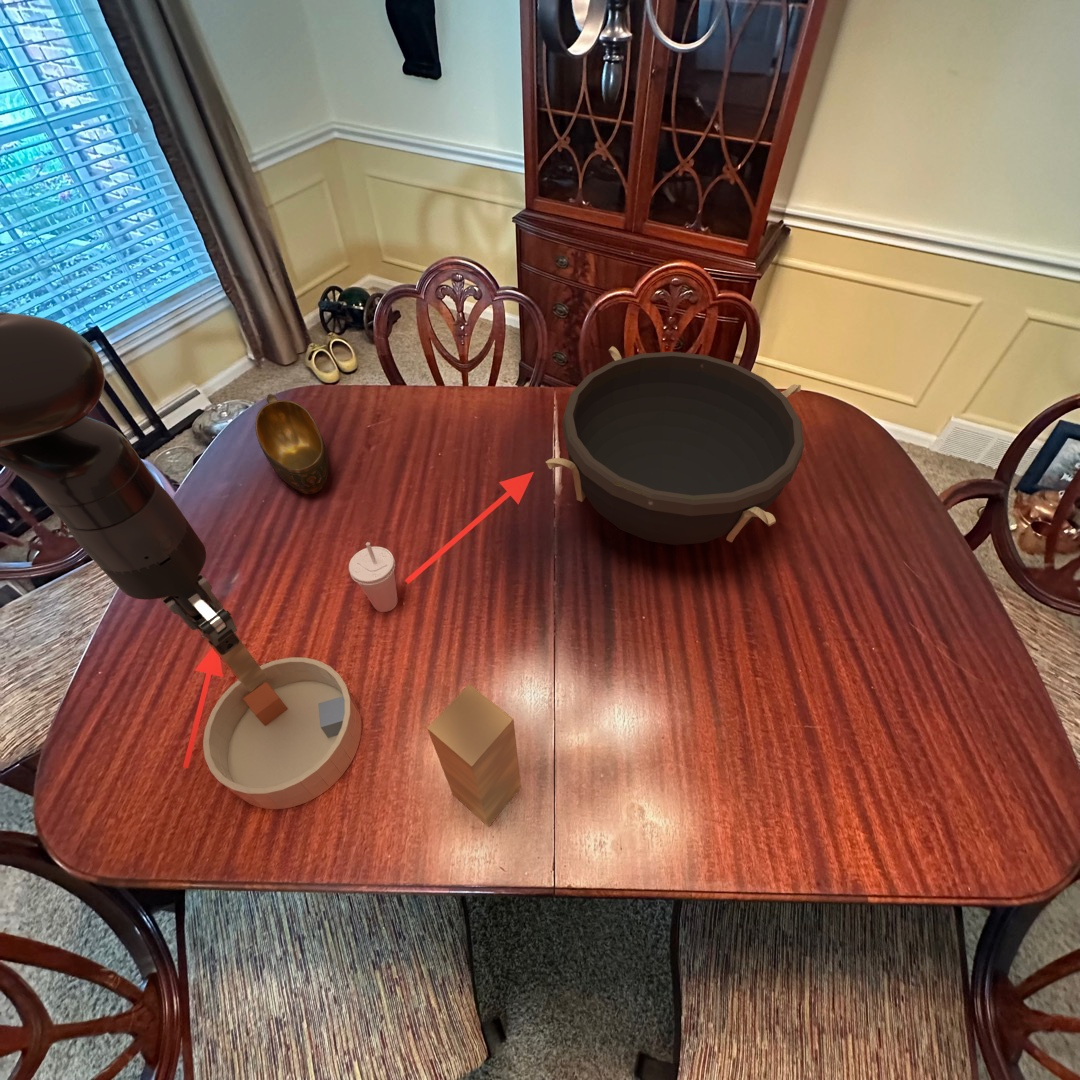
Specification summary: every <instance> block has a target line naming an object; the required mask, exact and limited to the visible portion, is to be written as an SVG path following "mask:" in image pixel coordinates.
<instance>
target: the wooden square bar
mask: <svg viewBox="0 0 1080 1080" xmlns="http://www.w3.org/2000/svg"><path fill="white" fill-rule="evenodd" d="M186 615H187V616H189V615H188V614H186ZM196 631H197V632H198V631H199V630H198V629H196ZM199 632H200V631H199ZM199 632H198V633H199ZM200 633H201V632H200ZM200 633H199V634H200ZM234 634H235V635H236V637H237V638H238V639H239V644H238V645H237V646H235V647H234V648H233V649H231V650H230V651H229V652H228V653H226V654H224V655H221V654H220V653H219V652H218V651H217V650H216V649H215V648H214V646H213V645H211V644H210V643H209V642H208V641H209V640H207V639H206V638H205V639H204V640H205V641H206V642H207V643H208V645H209V646H210V647H211V648H212V650H213V651H214V652H215V653H216V655H217V656H218V657H219V658H220V660H222V662H223V663H224V664H225V666H227V668H228V669H229V670H230V672H231V673H232V674H233V675H234V676H235V678H236V679H237V680H239V681H240V682H241V683H242V684H243V685H244V686H245V687H246V688H247V689H248V690H249V691H250V692H251V691H252V690H253V689H255V688H256V687H257V686H258V685H259V684H261V683H262V682H263V681H264V680H266V679H267V678H268V677H267V676H266V674H265V673H264V672H263V670H262V669H261V668H260V666H261V665H259V663H258V662H257V661H256V659H255V658H254V656H253V655H252V654H251V653H250V651H249V649H247V647H246V645H245V644H244V643H243V641H242V640H241V639H240V637H239V636H238V635H237V633H236V632H234ZM201 635H202V633H201V634H200V636H201Z"/></svg>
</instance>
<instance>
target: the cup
mask: <svg viewBox="0 0 1080 1080" xmlns="http://www.w3.org/2000/svg"><path fill="white" fill-rule="evenodd" d="M266 402H267V404H265V405H263V406H262V407H261V408H260V409H259V411H258V412H257V414H256V417H255V424H254V425H255V434H256V438H257V442H258V444H259V446H260V449H261V450H262V452H263V455H264V457H265V458H266V460H267V461H268V463H269V464H270V465H271V467H272V469H273V470H274V471H275V473H276V474H277V476H279V478H281V479H282V481H284V483H286V484H287V485H288V486H289V487H291V488H292V489H294V490H295V491H297V492H299V493H301V494H304V495H314V494H317V493H319V492H321V491H322V490H323V489H324V488H325V486H326V484H327V480H328V475H329V458H328V453H327V449H326V446H325V442H324V439H323V436H322V433H321V431H320V429H319V427H318V424H317V423H316V421H315V419H314V418H313V416H312V414H310V412H309V411H308V410H307V409H306V408H305V407H304V405H301V404H300V403H298V402H296V401H292V400H289V399H288V400H287V399H281V400H278V399H277V396H275V395H274V394H272V393H268V394H267V396H266Z"/></svg>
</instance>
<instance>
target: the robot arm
mask: <svg viewBox="0 0 1080 1080" xmlns="http://www.w3.org/2000/svg"><path fill="white" fill-rule="evenodd" d="M105 379H106V378H105V370H104V365H103V362H102V360H101V358H100V356H99V354H98V353H97V351H96V350H95V348H94V347H93V346H92V345H91V343H90V342H89V341H88V340H87V339H86V338H85V337H84V336H82V335H81V334H80V333H78V332H77V331H75V330H74V329H72V328H71V327H69V326H66V325H65V324H62V323H60V322H58V321H55V320H52V319H49V318H44V317H41V316H36V315H29V314H20V313H11V312H1V311H0V465H2V466H3V467H4V468H6V469H7V470H9V471H11V472H12V473H14V474H15V475H16V476H18V477H20V479H22V480H23V481H25V482H26V483H27V484H28V485H29V486H30V487H32V489H33V490H34V492H35V493H36V494H37V496H39V498H40V499H41V500H42V501H43V502H44V503H45V504H46V505H47V506H48V508H49V509H50V510H51V511H52V512H53V514H55V516H57V517H58V519H60V521H61V522H62V523H63V524H64V525H65V526H66V528H67V529H68V530H69V533H70V534H71V536H72V537H73V539H74V540H75V541H76V543H77V545H79V546H80V548H81V549H82V550H83V551H84V552H85V553H86V554H87V555H88V556H89V557H90V559H92V561H93V562H94V563H95V564H96V565H97V566H98V567H99V568H100V569H101V570H102V572H104V573H105V575H106V576H107V577H108V578H109V579H110V580H111V581H112V582H113V583H114V585H116V587H118V589H119V590H120V591H121V592H122V593H123V594H125V595H127V596H128V597H130V598H133V599H137V600H144V601H145V600H146V601H147V600H157V599H158V600H161V602H162V603H163V604H164V605H165V606H166V608H167V609H168V610H169V611H170V612H171V613H172V614H173V615H177V616H178V617H179V618H180V619H181V620H182V621H183V623H185V625H186V626H187V627H188V628H190V630H193V631H197V632H198V633H199V634H200V636H201V637H202V638H203V639H204V640H205V638H206V639H207V640H209V641H208V642H209V643H210V644H211V645H213V646H214V648H215V649H216V650H217V651H218V652H219V653H220V654H221V655H224V654H226V653H228V652H229V651H230V650H231V649H233V648H234V647H235V646H237V645H238V644H239V639H240V638H239V637H238V638H239V639H238V638H237V637H236V635H237V634H236V635H235V634H234V632H235V633H236V632H237V631H238V629H237V625H236V624H235V622H234V619H233V617H232V616H231V615H232V614H231V612H229V610H226V609H225V608H224V606H223V604H222V603H221V602H220V601H219V600H218V598H217V597H216V595H215V594H214V593H213V592H212V585H211V584H210V583H209V581H208V580H207V579H206V578H205V577H204V575H202V574H201V572H202V570H203V568H204V566H205V564H206V560H207V550H206V546H205V545H204V543H203V541H202V540H201V538H200V537H199V536H198V534H197V533H196V531H195V530H194V529H193V528H194V527H192V526H191V524H190V522H189V521H188V519H187V518H186V517H185V515H184V513H183V512H182V511H181V509H180V508H179V506H178V504H177V503H176V502H175V500H174V499H173V497H171V495H170V494H169V492H167V491H166V490H165V488H164V487H163V486H162V485H161V484H160V483H159V481H157V480H156V478H154V475H152V473H151V471H150V470H149V468H148V467H147V466H146V464H145V463H144V461H143V460H142V458H141V457H140V456H139V454H138V453H137V451H136V450H135V448H134V447H133V446H132V444H131V443H130V442H129V440H128V439H127V438H126V437H125V436H124V435H123V434H122V433H121V432H120V431H119V430H117V429H116V428H115V427H113V426H111V425H109V424H108V423H106V422H102V421H100V420H97V419H95V418H92V417H89V416H88V415H89V414H90V413H91V412H93V410H94V408H96V406H97V404H98V402H99V401H100V398H101V397H102V394H103V391H104V387H105V382H106V381H105ZM186 614H188V615H189V616H187V615H186ZM197 629H198V630H199V631H200V632H201V633H202V635H201V633H200V632H199V631H198V630H197ZM208 642H207V643H208ZM209 643H208V644H209Z"/></svg>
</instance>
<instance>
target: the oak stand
mask: <svg viewBox="0 0 1080 1080" xmlns="http://www.w3.org/2000/svg"><path fill="white" fill-rule="evenodd" d="M426 729H427V732H428V734H429V737H430V739H431V742H432V745H433V748H434V750H435V753H436V756H437V758H438V760H439V763H440V765H441V769H442V771H443V773H444V776H445V779H446V781H447V784H448V786H449V789H450V792H451V794H452V796H453V797H455V798H456V799H457V800H458V801H459V802H460V803H461V804H463V806H465V807H466V809H468V810H469V811H470V812H471V813H473V815H474V816H476V817H477V818H478V819H479V820H480V821H481V822H482V823H483V824H485V825H486V826H487V827H488V828H489V827H490V826H491V825H492V824H493V822H494V821H495V820H496V818H497V817H498V816H499V815H500V814H501V813H502V811H503V810H504V809H505V807H506V806H507V805H508V804H509V802H510V801H511V800H512V798H513V797H514V796H515V795H516V793H517V792H518V791H519V790H520V789H521V788H522V782H521V775H520V765H519V757H518V755H519V754H518V747H517V738H516V737H517V736H516V730H515V729H516V728H515V721H514V718H513V717H512V716H511V715H509V713H507V712H506V711H504V710H503V709H502V708H500V707H499V706H498V705H497V704H495V702H493V701H492V700H491V699H489V698H488V697H486V696H485V695H484V694H483V693H482V692H481V691H479V690H477V688H475V687H474V686H473V685H472V684H470V683H468V685H466V686H465V688H464V689H463V690H461V692H460V693H459V694H458V695H457V696H456V697H455V698H454V699H453V700H452V701H451V702H450V704H448V705H447V707H445V708H444V709H443V711H441V712H440V714H439V715H438V716H437V717H436V718H435V719H434V720H433V721H432V722H431V723H430V724H429V725H428V726H427V727H426Z"/></svg>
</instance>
